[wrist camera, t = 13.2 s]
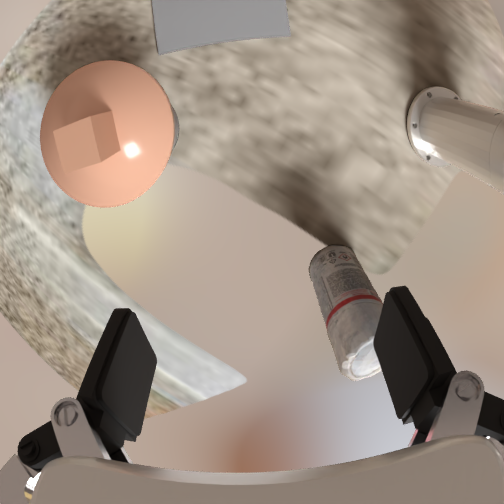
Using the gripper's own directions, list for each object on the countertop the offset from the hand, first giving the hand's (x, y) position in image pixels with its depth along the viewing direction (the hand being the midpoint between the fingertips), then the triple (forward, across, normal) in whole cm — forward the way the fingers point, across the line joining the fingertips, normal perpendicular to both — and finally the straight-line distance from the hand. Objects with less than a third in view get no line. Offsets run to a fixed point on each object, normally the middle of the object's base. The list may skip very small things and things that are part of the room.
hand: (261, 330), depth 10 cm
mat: (+30, +2, -23) cm, 37 cm away
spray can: (+30, -11, +19) cm, 37 cm away
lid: (+19, +14, -6) cm, 25 cm away
